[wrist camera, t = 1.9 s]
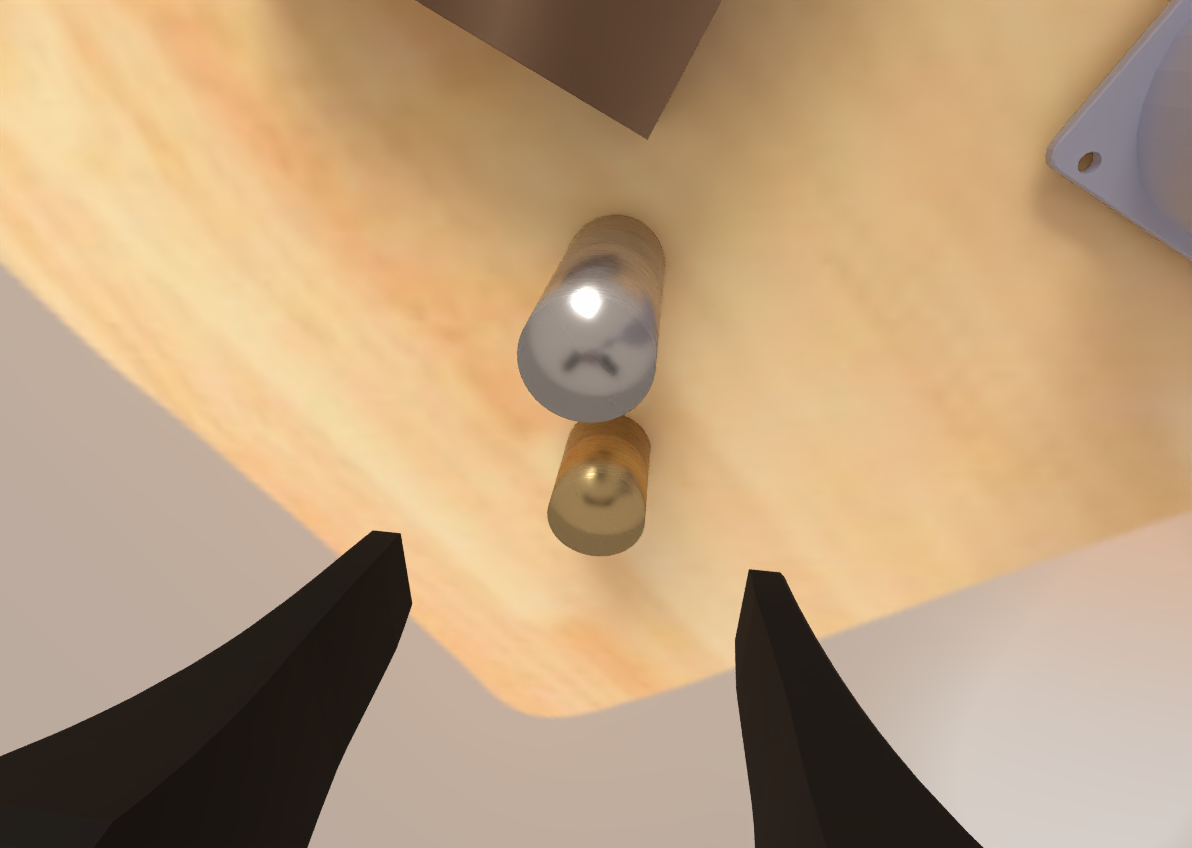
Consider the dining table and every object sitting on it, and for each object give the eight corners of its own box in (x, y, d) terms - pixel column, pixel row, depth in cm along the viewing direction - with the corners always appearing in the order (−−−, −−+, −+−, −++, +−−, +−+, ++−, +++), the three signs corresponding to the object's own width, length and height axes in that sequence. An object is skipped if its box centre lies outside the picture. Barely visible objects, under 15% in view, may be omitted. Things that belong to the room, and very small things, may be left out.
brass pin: (666, 437, 23) (662, 507, 20) (624, 495, 24) (614, 569, 21) (591, 398, 22) (574, 462, 19) (553, 459, 24) (531, 529, 21)
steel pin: (683, 246, 20) (682, 339, 14) (634, 328, 21) (613, 444, 15) (595, 196, 19) (553, 268, 13) (551, 282, 21) (495, 383, 15)
